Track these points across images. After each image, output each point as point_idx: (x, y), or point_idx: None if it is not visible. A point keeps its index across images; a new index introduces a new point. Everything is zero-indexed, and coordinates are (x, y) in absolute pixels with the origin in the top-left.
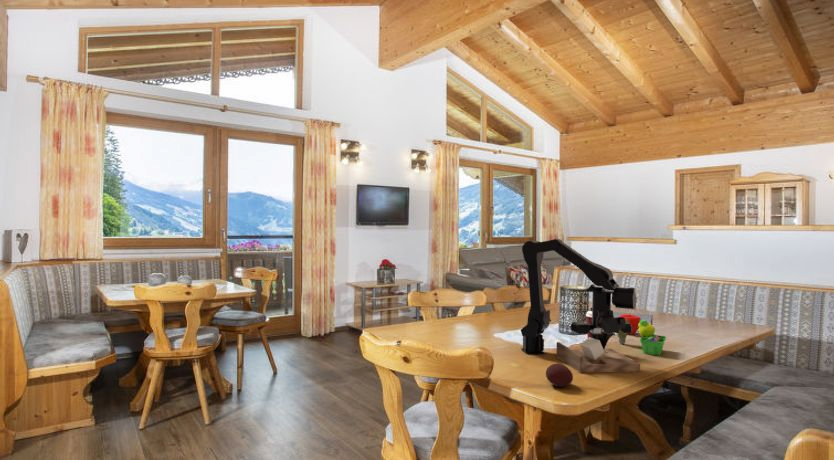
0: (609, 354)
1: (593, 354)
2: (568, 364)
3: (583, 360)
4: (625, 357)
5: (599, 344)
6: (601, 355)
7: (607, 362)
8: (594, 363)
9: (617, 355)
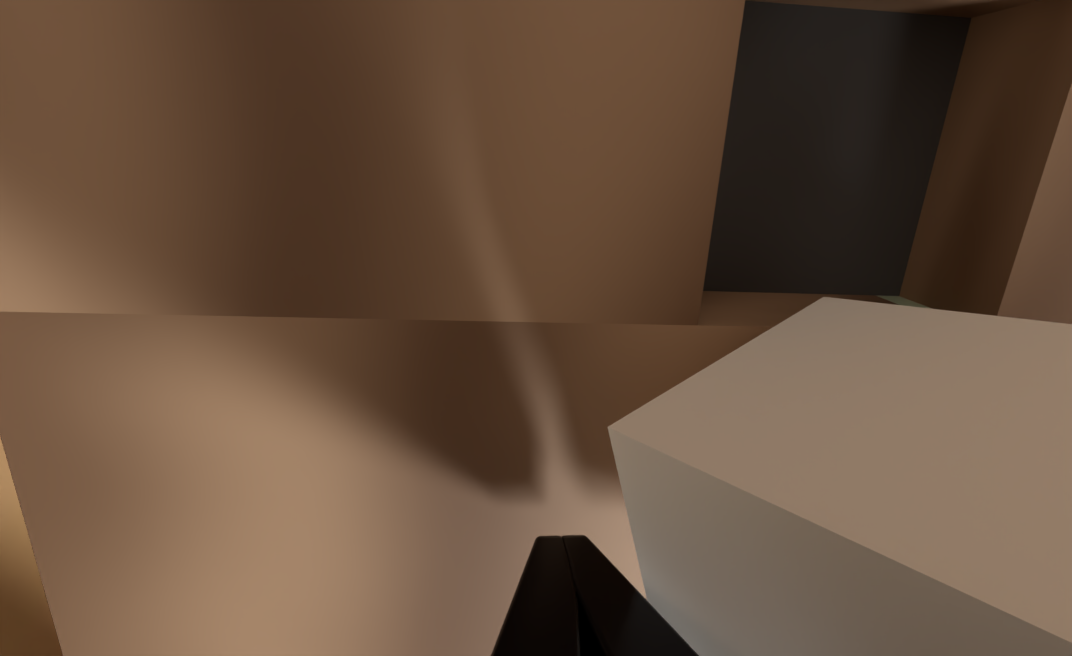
0: (317, 608)
1: (956, 320)
2: None
3: (1063, 282)
4: (57, 411)
5: (963, 521)
6: (509, 557)
7: (686, 75)
8: (767, 307)
9: (180, 547)
